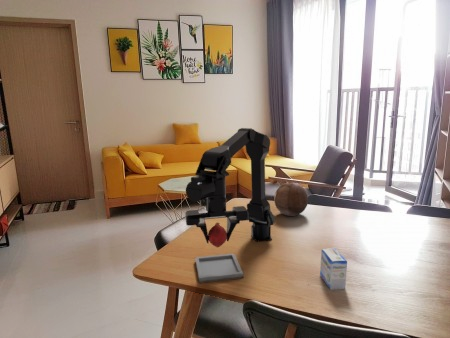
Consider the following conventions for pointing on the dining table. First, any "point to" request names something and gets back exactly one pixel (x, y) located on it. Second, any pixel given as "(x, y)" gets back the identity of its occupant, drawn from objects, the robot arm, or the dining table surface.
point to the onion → (217, 235)
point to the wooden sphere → (291, 199)
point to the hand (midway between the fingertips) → (217, 241)
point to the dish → (218, 268)
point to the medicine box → (333, 268)
